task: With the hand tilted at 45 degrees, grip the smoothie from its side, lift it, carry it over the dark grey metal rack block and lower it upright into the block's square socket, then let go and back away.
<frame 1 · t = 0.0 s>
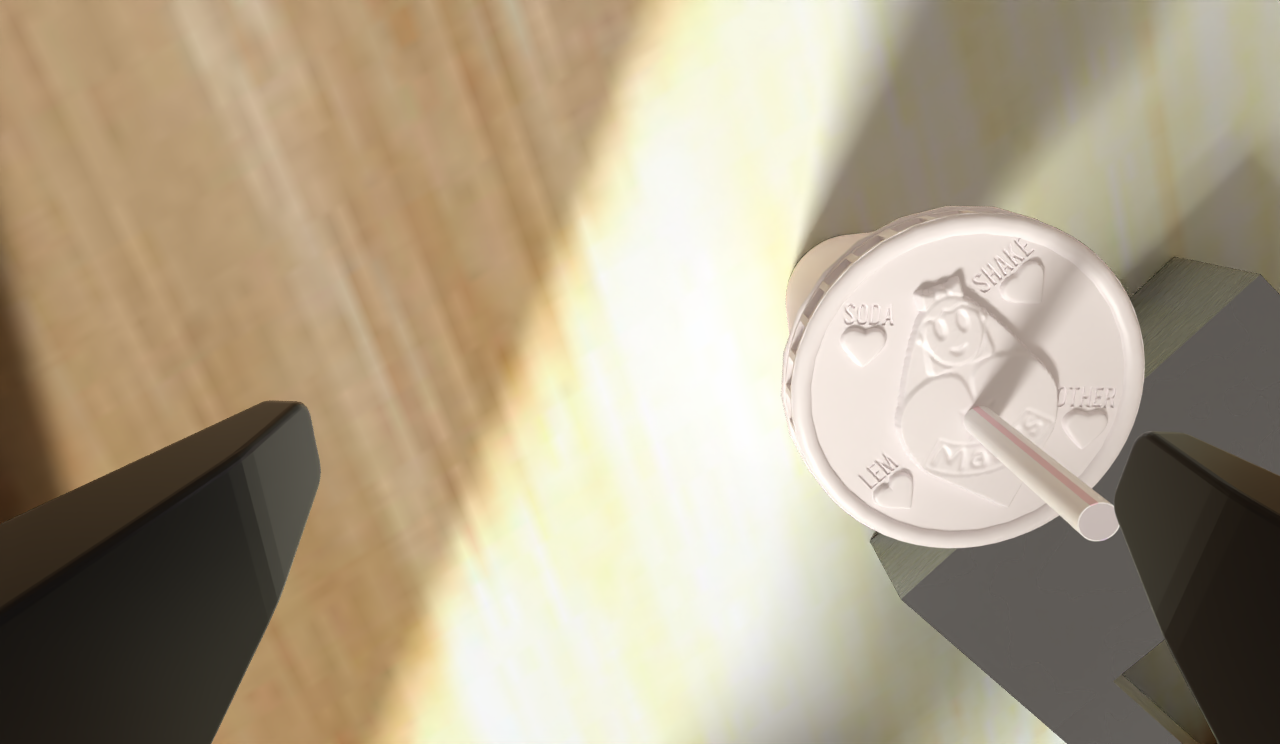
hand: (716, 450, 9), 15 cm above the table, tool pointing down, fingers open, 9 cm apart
rack block: (1227, 607, 26), on the table
smoothie: (847, 296, 24), on the table
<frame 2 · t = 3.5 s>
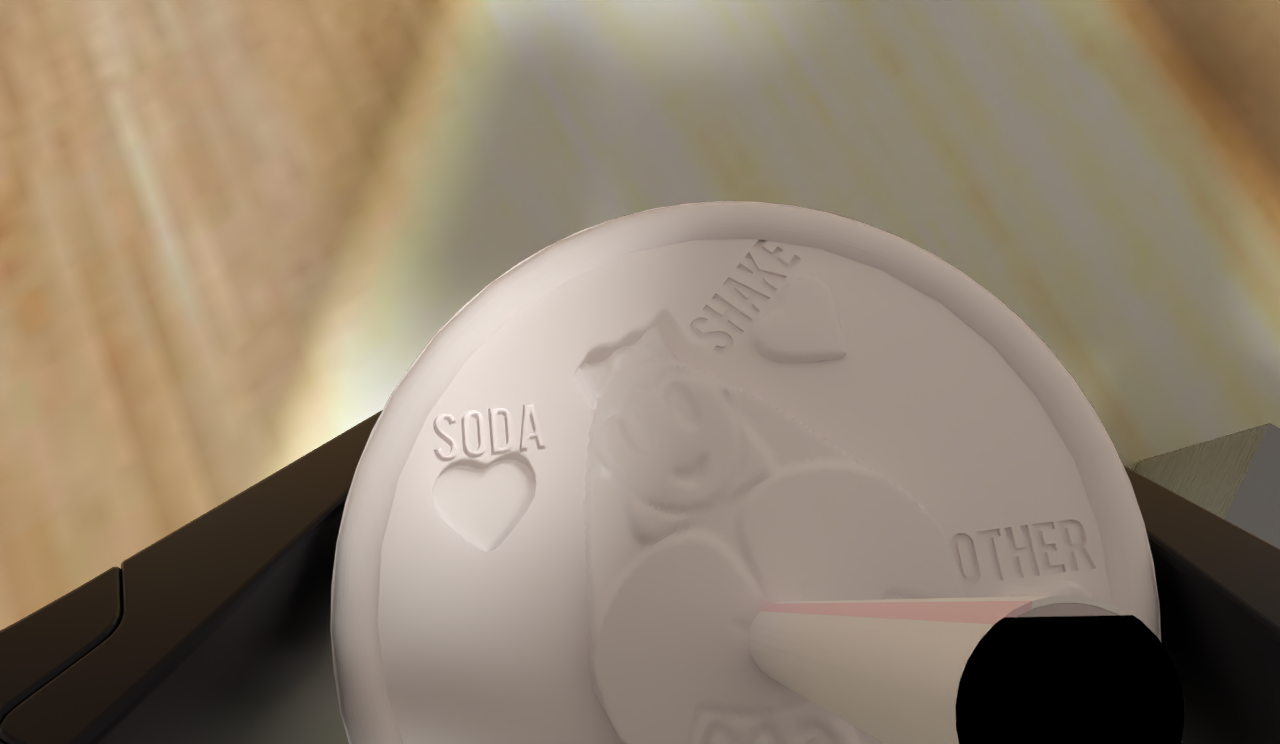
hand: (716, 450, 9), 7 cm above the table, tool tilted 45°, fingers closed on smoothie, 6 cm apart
smoothie: (683, 591, 16), on the table, touching gripper
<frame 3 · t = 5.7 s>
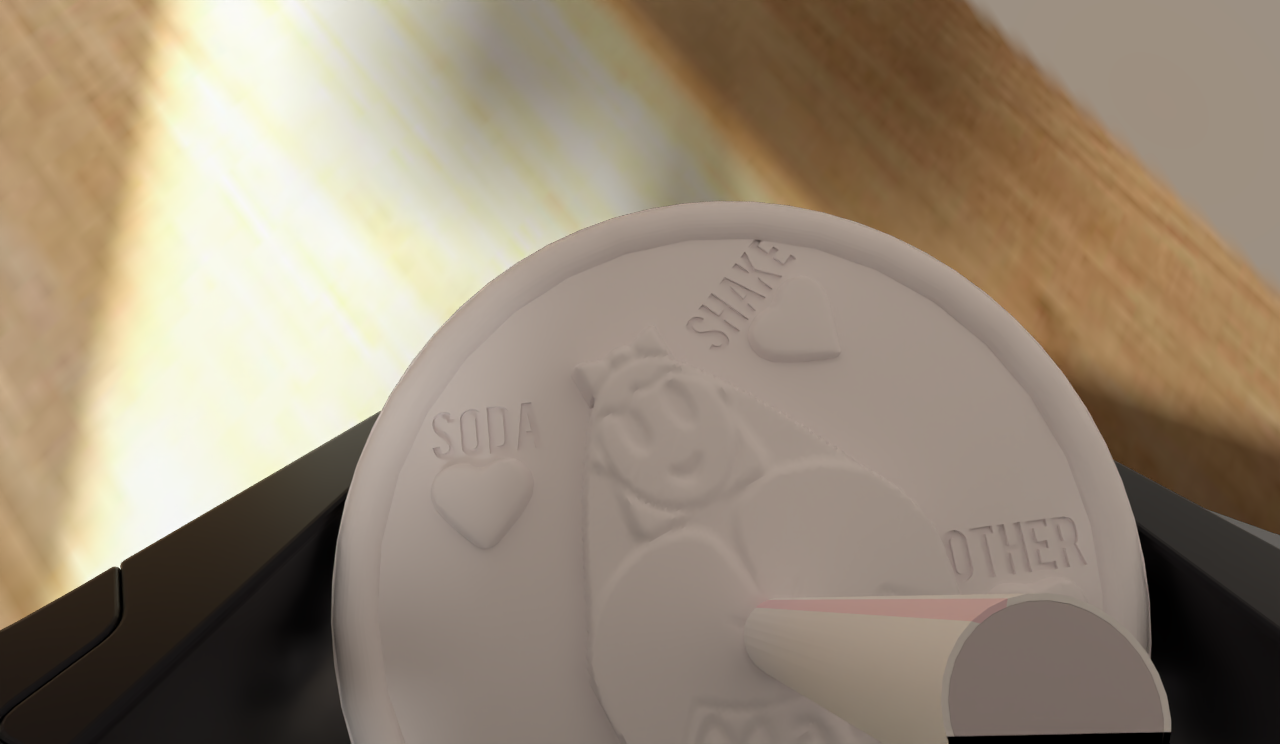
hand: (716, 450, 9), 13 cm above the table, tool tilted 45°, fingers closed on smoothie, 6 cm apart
rack block: (979, 719, 21), on the table
smoothie: (682, 587, 16), point 6 cm above the table, touching gripper
when the fingers open (8 cm above the table, at t = 8.1 s): smoothie drops 1 cm, resting in rack block.
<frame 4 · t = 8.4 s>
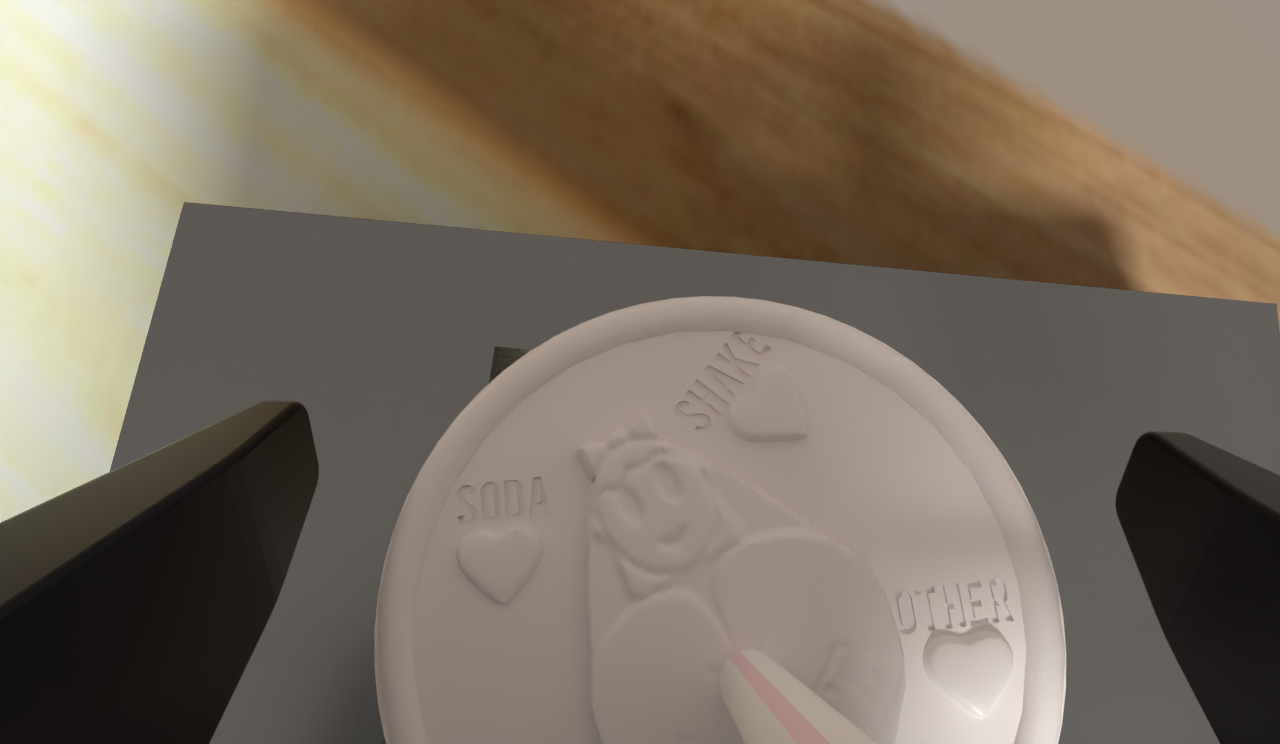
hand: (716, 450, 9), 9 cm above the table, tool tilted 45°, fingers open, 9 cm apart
rack block: (680, 592, 17), on the table
smoothie: (683, 591, 17), resting in rack block
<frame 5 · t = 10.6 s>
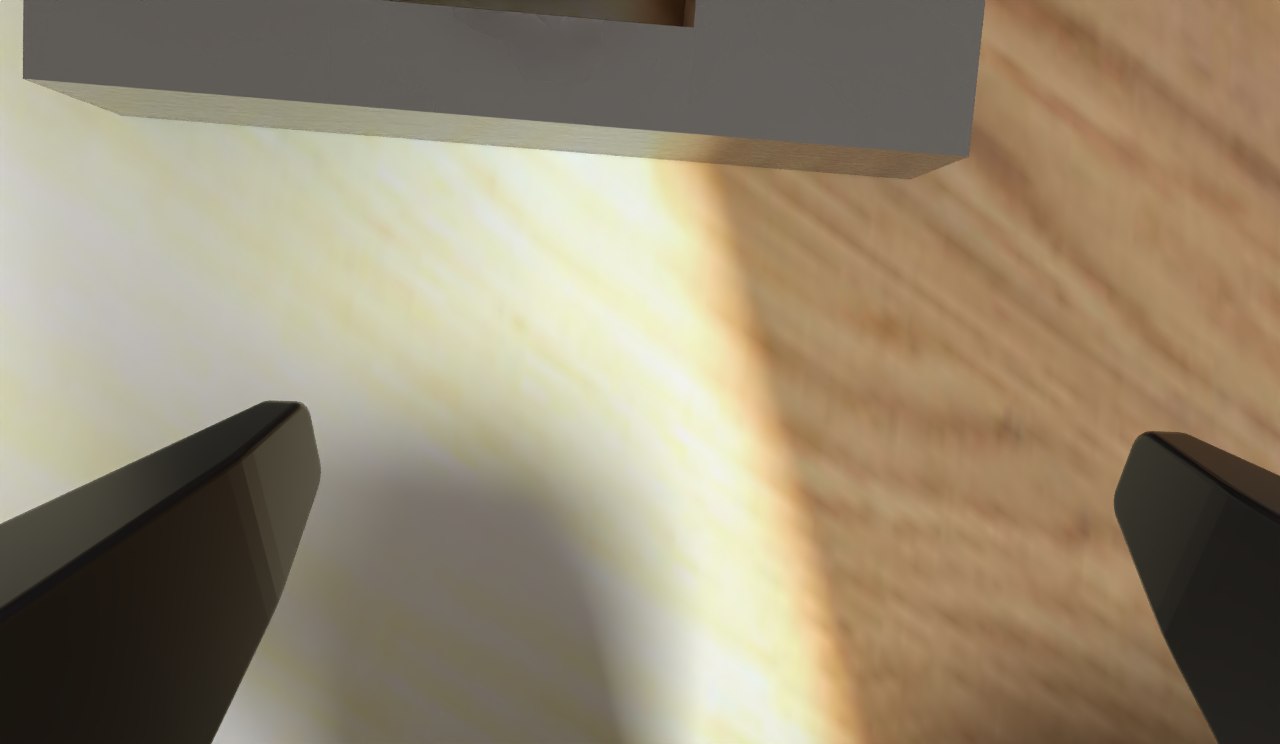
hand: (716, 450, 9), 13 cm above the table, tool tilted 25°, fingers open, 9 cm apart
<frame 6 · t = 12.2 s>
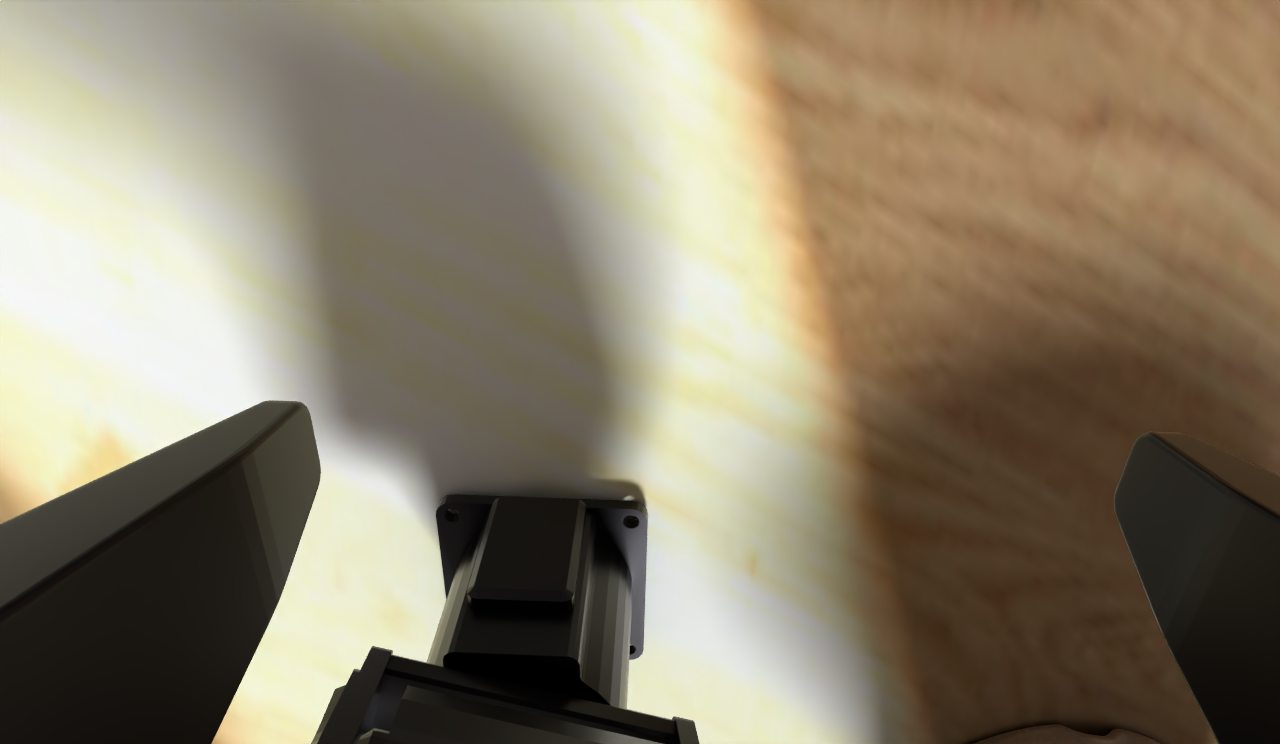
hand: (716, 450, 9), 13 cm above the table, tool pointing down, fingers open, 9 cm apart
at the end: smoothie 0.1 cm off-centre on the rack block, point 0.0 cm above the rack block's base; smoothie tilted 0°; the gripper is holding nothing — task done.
